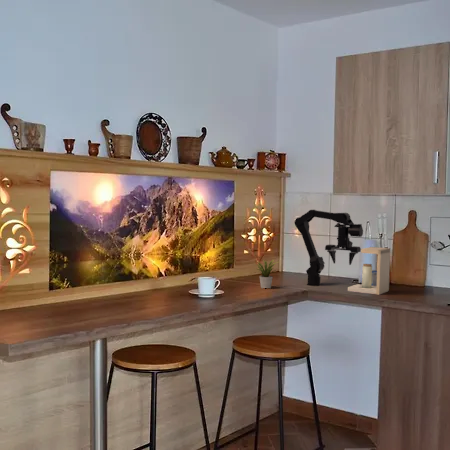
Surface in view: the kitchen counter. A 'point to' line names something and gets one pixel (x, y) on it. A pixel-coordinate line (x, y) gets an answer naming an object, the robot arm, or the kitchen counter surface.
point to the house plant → (266, 274)
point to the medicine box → (374, 278)
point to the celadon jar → (367, 276)
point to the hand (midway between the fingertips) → (342, 264)
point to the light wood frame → (382, 272)
